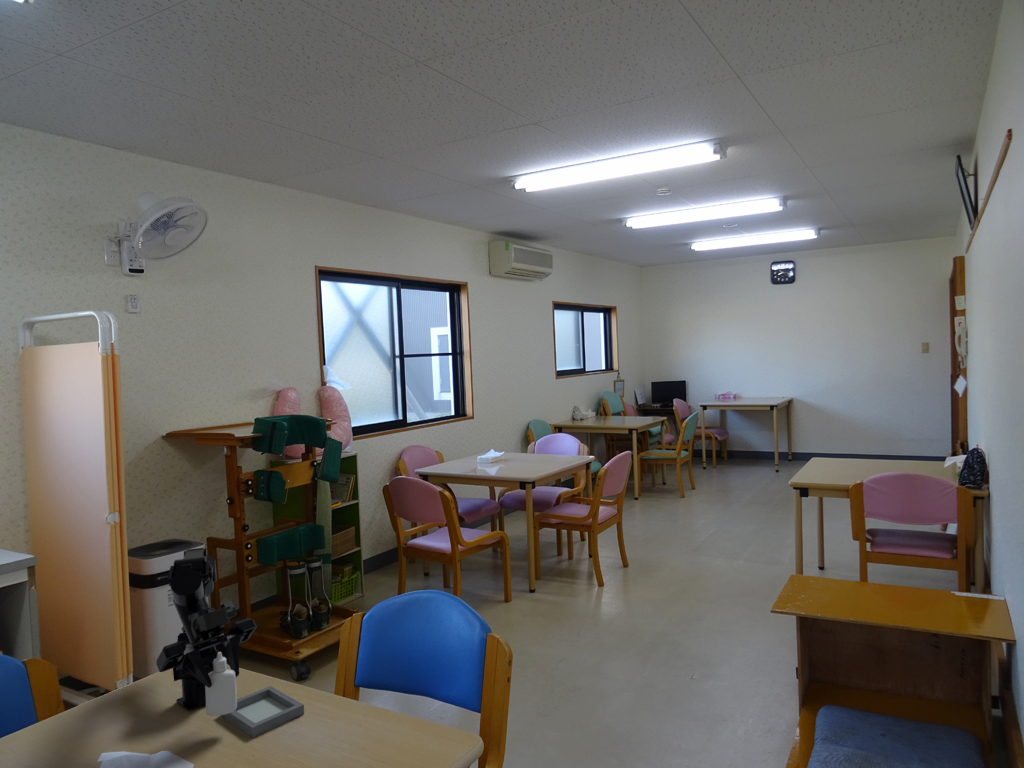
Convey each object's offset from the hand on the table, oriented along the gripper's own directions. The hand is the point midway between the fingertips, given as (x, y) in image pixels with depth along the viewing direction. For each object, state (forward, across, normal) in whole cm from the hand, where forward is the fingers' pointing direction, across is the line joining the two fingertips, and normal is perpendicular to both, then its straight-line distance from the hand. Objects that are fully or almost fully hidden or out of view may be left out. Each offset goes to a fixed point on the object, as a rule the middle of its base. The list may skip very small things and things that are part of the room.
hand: (224, 681), depth 137 cm
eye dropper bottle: (+4, 0, +6) cm, 7 cm away
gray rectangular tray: (+7, +8, +8) cm, 14 cm away
